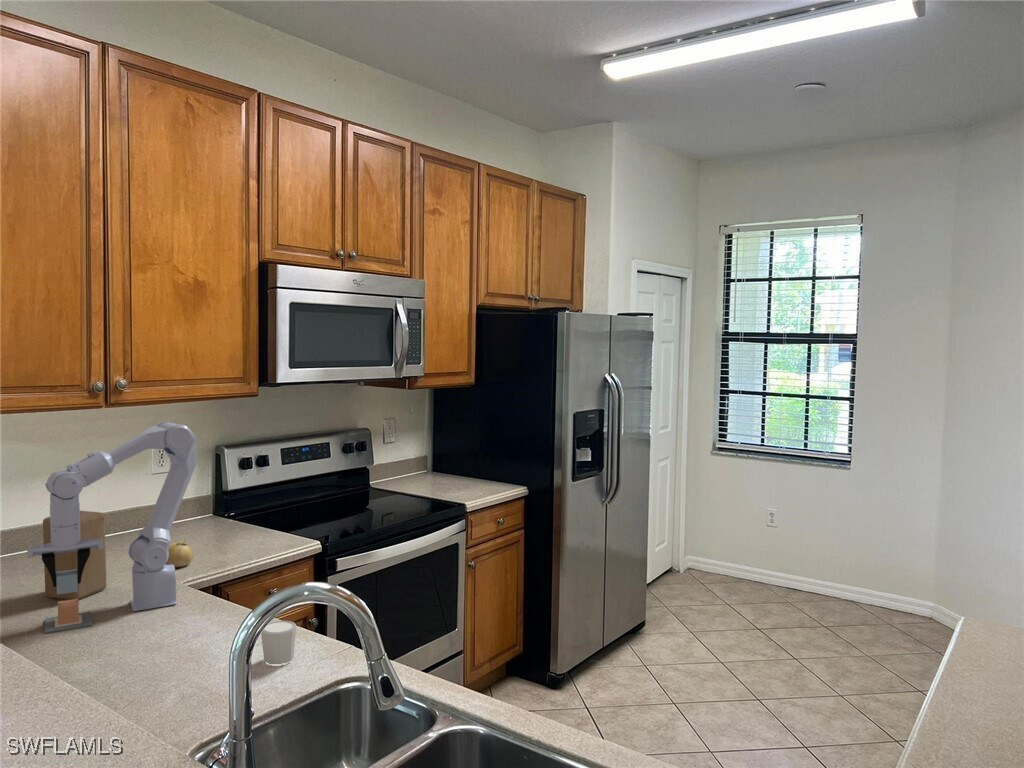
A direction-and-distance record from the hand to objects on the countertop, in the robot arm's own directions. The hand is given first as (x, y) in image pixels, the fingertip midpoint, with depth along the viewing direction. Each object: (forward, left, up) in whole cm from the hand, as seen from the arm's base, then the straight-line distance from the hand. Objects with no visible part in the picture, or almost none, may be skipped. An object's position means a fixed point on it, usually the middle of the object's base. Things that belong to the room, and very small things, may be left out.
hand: (67, 583), depth 169 cm
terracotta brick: (0, 0, -8) cm, 9 cm away
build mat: (0, 0, -9) cm, 9 cm away
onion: (-27, -33, -9) cm, 44 cm away
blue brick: (0, 0, -2) cm, 2 cm away
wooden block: (-2, -21, -9) cm, 23 cm away
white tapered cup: (-36, +43, -9) cm, 57 cm away
